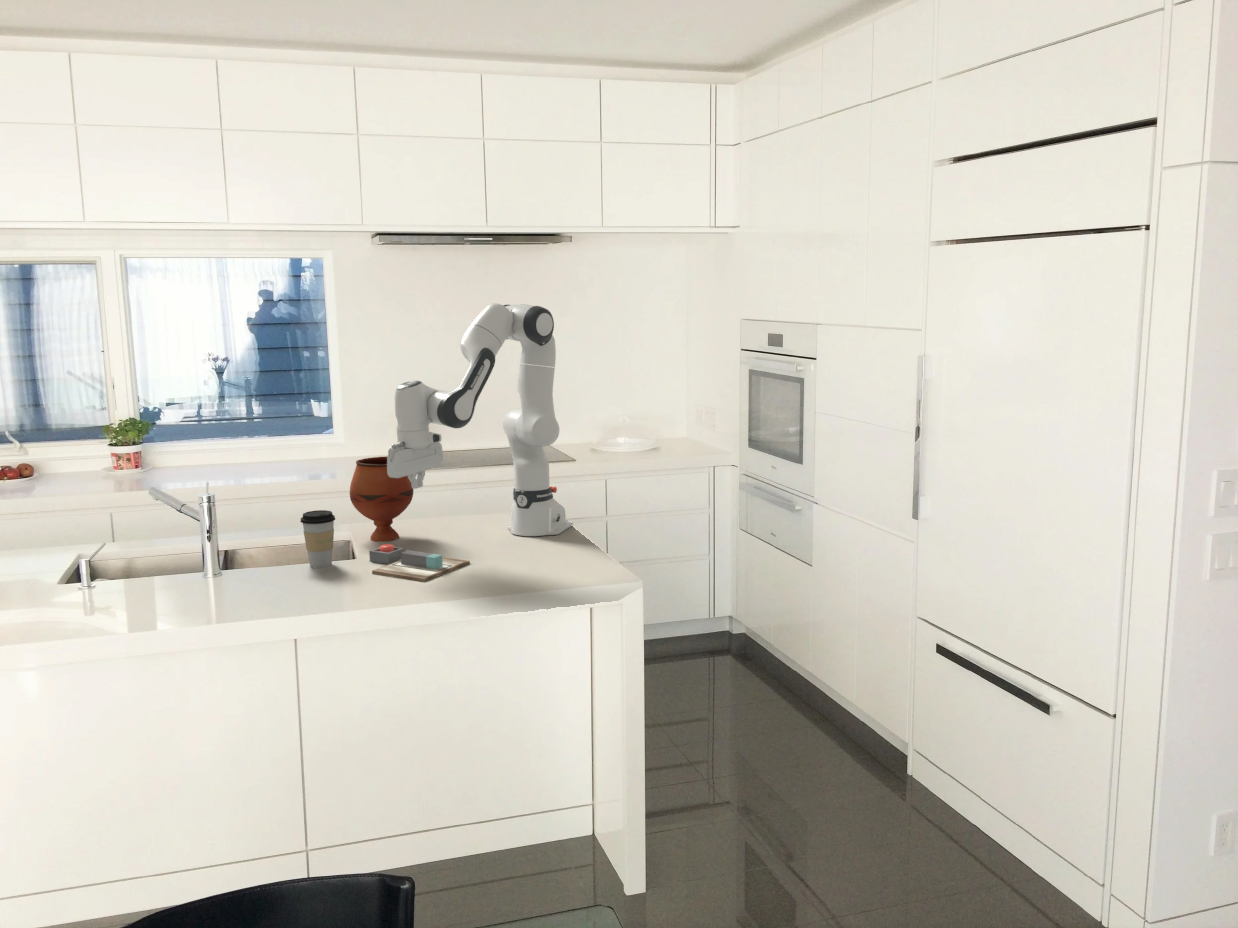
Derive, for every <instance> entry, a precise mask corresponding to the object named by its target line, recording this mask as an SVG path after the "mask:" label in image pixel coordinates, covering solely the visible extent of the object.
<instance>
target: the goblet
mask: <svg viewBox="0 0 1238 928" xmlns="http://www.w3.org/2000/svg"><path fill="white" fill-rule="evenodd" d="M387 457H388V455H387V456H374V457H367V458H362V459H357V460H356V461H355V464H356V465H355V469H354V472H353V475H352V478H351V481H350V486H349V498H350V501H351V504H352V506H353V507H354V508H355V509H356V511H357V512H359V513H360V514H361V515H362V516H363V517H365V518H367V519H369V520H371V521H373V525H374V527H376V528H375V530H374V531H373V532H372V533H371V535H370V538H369V539H370V541H372V542H378V543H380V542H381V543H382V542H383V543H384V542H389V541H390V542H391V541H395V540H397V539H399V538H400V535H399V533H398V532H397V531H396V529H394V528H393V527H392V524H393V523H394V521H393V519H395V518H397V517H399V516H400V515H401V514H402V513H403V512H405V510H406V509H407V508H408V507H409V506H410V504H411V502H412V500H413V497H414V489H413V488H412V486H411V482H410V480H409V478H408V475H407V476H404V477H400V478H390V477H389V476H388V474H387Z"/></svg>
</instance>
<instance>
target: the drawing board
mask: <svg viewBox="0 0 1238 928" xmlns="http://www.w3.org/2000/svg"><path fill="white" fill-rule="evenodd" d="M442 563H443V567H440V568H437V569H430V568H424V567H417V566H410V565H404V564H401V560H399V561H396V562H393V563H390V564H386V565H384V566H382V567H379V568H375V569H373V570H371V572H372V574H373V575H381V576H385V575H386V577H391V576H393V578H398V579H406V580H411V581H416V580H417V582H422V581H423V583H425V582H428V581H430V580H432V579H435V578H437V577H440V576H443V575H444V574H447V572H448V573H450V572H452V570H453V571H455V570H458V569H460V568H462V567H465V566H467V565H470V564H471V560H466V559H459V558H452V557H446V556H442ZM457 568H458V569H457ZM442 574H443V575H442Z"/></svg>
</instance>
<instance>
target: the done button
mask: <svg viewBox="0 0 1238 928" xmlns="http://www.w3.org/2000/svg"><path fill="white" fill-rule="evenodd" d="M394 547H395V545H394V544H388V543H387V544H381V545H380V546H379V548H380V552H387V553H388V552H391V551H394Z"/></svg>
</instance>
